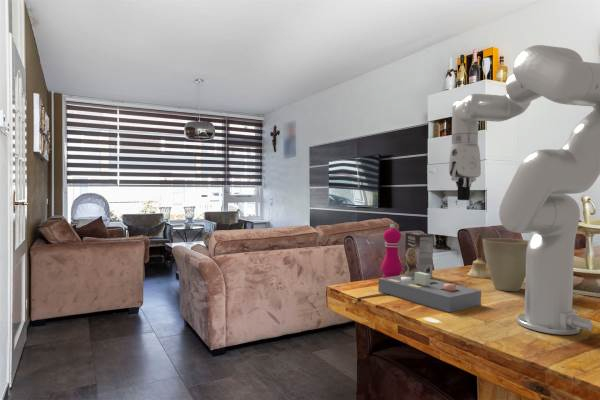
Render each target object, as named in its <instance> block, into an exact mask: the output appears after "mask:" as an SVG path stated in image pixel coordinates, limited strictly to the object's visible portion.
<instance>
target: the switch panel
mask: <svg viewBox="0 0 600 400" xmlns="http://www.w3.org/2000/svg"><path fill="white" fill-rule="evenodd" d="M399 275H400V276H393V277H386V278H383V277H380V278H378V290H377V291H378V292H379V293H383V294H387V295H389V294H390V295H389V296H392V295H394V296H393V297H396V296H397V297H396V298H399V297H400V299H402V298H403V300H406V301H410V302H412V303H416V304H419V305H423V306H425V307H430V308H433V309H435V310H439V311H442V312H446V313H453V312H457V311H461V310H466V309H469V308H473V307H477V306H481V304H482V290H479V289H475V288H471V287H466V286H464V285H463V286H462V285H459V284H455V285H456V292H448V291H444V284H445V283H447V282H446V281H441V280H436V279H433V278H431V279H430V285H427V286H420V284H416V283H415V275H411V274H407V275H406V274H399ZM401 277H410V278H412V280H411V281H404V280H401Z"/></svg>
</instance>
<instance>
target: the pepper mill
mask: <svg viewBox="0 0 600 400" xmlns="http://www.w3.org/2000/svg"><path fill="white" fill-rule="evenodd" d="M401 238H402V234H401V232H400V230H398V229H397V228H396V225H395V224H393V223H392V224H390V225H389V228H388V229H386V230H385V231H384V232H383V239H384V240H385V242H384V247H385V256H384V258H383V261H382V263H381V267H380V268H381V271H382V273H383V274H382V278H386V277H393V276H400V275H401V273H402V272H403V265H402V262H401V260H400V258H399V251H398V249H399V247H400V240H401Z"/></svg>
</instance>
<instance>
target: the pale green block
mask: <svg viewBox="0 0 600 400" xmlns="http://www.w3.org/2000/svg"><path fill="white" fill-rule="evenodd" d="M415 283H416V284H420V286H427V285H430V274H427V273H423V272H415Z"/></svg>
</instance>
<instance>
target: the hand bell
mask: <svg viewBox="0 0 600 400" xmlns="http://www.w3.org/2000/svg"><path fill="white" fill-rule="evenodd" d="M483 239H484V237H483V236H482V233H477V237H476V238H475V247H476V252H477V253H476V260H473V261H472V266H471V269H470V270H469V271H468V272H467V274H466V275H467V276H468V277H470V278H471V277H472V278H477V279H491V277H490V274H489V271H488V268H487V263H486V261H484V260H483V256H482V255H483V254H482V252H483V249H484V247H483Z"/></svg>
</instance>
